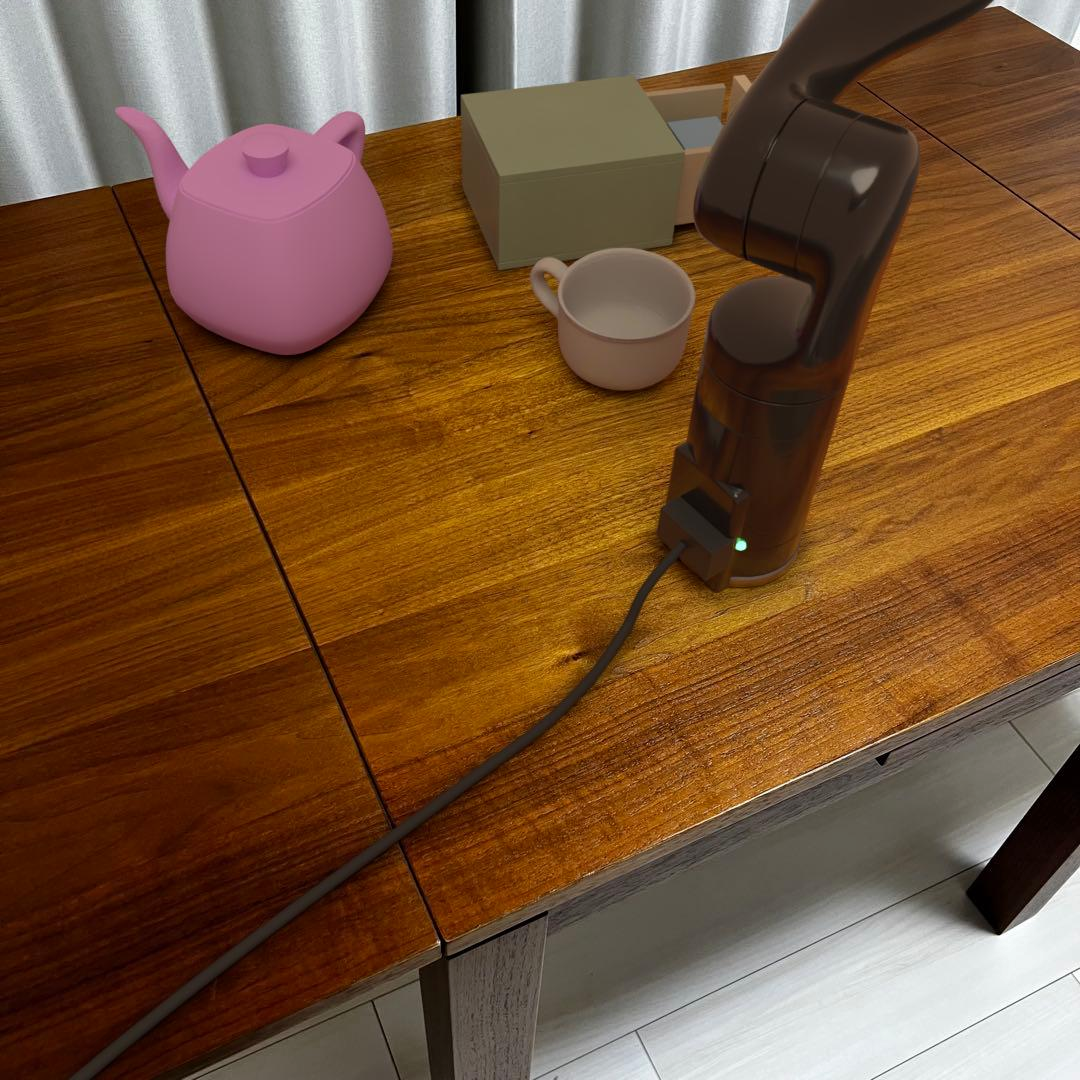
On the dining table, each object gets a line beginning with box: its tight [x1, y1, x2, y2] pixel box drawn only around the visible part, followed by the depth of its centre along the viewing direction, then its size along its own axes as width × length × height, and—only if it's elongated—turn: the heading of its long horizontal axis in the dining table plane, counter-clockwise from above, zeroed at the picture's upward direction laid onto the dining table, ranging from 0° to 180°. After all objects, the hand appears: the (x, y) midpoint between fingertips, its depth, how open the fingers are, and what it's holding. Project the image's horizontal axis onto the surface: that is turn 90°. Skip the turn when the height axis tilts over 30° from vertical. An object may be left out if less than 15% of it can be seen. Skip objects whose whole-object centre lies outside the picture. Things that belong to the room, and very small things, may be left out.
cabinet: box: [460, 74, 685, 271], centre depth 109 cm, size 17×14×10 cm
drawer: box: [644, 74, 753, 226], centre depth 112 cm, size 20×12×8 cm, turn 106°
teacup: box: [529, 248, 696, 391], centre depth 96 cm, size 14×11×8 cm
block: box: [667, 116, 724, 150], centre depth 112 cm, size 5×5×5 cm
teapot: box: [115, 106, 394, 356], centre depth 99 cm, size 23×21×15 cm
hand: (898, 22), depth 108 cm, fingers closed
